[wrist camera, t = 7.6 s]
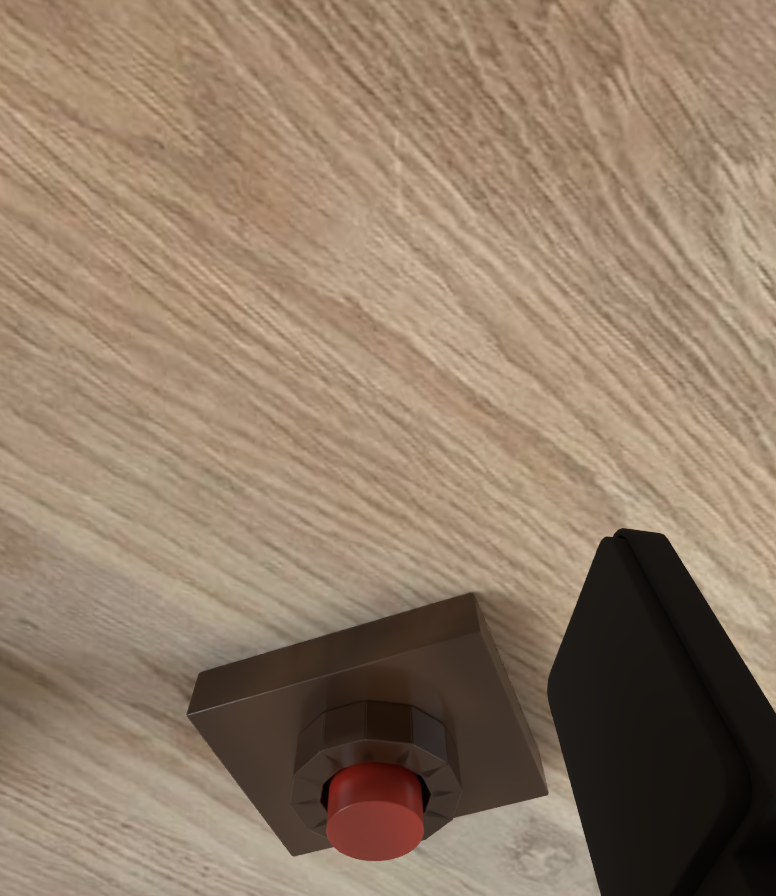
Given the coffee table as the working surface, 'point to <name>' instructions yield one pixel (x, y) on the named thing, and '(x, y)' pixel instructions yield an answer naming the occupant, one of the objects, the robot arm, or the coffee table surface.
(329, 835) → the button
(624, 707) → the robot arm
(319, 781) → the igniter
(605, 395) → the coffee table surface
